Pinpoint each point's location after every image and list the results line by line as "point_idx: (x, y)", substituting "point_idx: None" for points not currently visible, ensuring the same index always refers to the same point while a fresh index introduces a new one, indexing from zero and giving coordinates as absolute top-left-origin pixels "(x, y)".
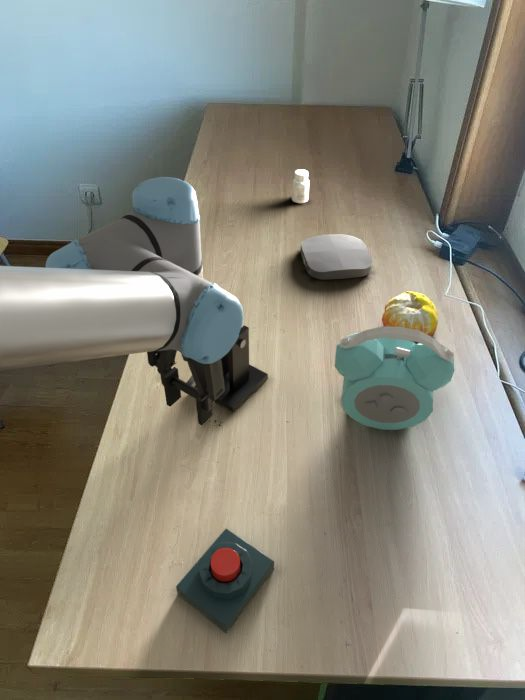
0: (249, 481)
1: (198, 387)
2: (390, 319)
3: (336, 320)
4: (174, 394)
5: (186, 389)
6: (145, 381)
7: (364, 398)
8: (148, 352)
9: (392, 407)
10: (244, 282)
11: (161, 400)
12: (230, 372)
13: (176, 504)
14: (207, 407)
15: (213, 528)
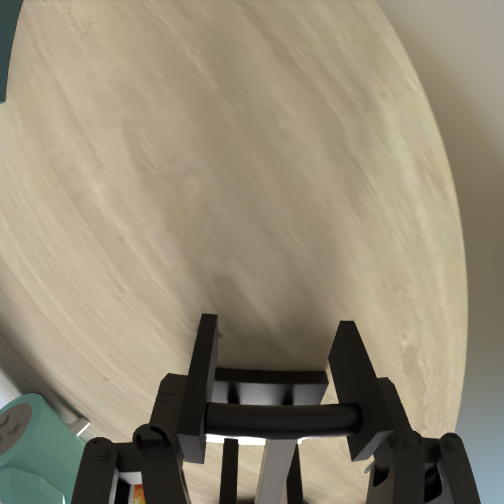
0: (42, 234)
1: (170, 487)
2: (139, 497)
3: (203, 487)
4: (341, 364)
5: (277, 426)
6: (433, 332)
7: (14, 437)
8: (470, 487)
9: (4, 425)
10: (346, 483)
11: (381, 316)
12: (231, 456)
13: (120, 66)
14: (165, 390)
15: (27, 91)
